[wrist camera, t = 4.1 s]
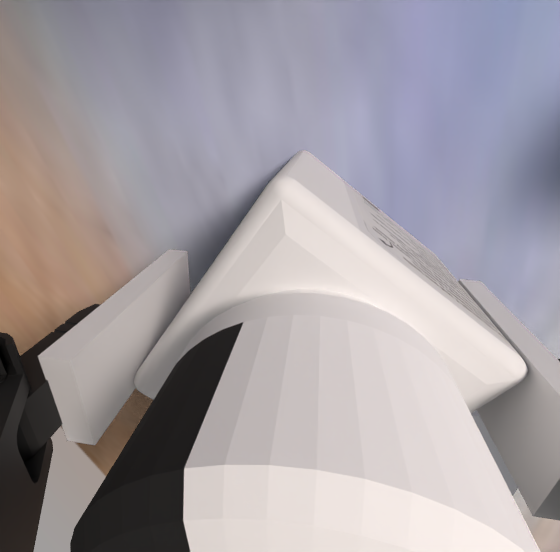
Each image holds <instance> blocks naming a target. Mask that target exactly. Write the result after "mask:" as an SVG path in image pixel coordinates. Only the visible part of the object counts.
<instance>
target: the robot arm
mask: <svg viewBox="0 0 560 552" xmlns="http://www.w3.org/2000/svg"><path fill="white" fill-rule="evenodd" d="M459 284H460V285H461V286H462V287H463V288H464V290H465V291H466V292H467V293H468V294H469V295H470V297H471V298H472V299H473V300H474V301H475V303H476V304H477V305H478V306H479V307H480V309H481V310H482V311H483V312H484V313H485V314H486V316H487V317H488V318H489V319H490V320H491V322H492V323H493V324H494V325H495V326H496V328H497V329H498V330H499V331H500V332H501V333H502V335H503V336H504V337H505V338H506V339H507V341H508V342H509V343H510V344H511V345H512V347H513V348H514V349H515V350H516V351H517V352H518V354H519V355H520V356H521V357H522V359H523V360H524V362H525V363H526V366H527V369H528V372H527V376H526V377H525V378H524V380H523V381H521V382H520V383H519V384H517V385H515V386H514V387H512V388H511V389H509V390H507V391H506V392H504V393H503V394H501V395H499V396H498V397H496V398H495V399H493V400H491V401H490V402H488V403H487V404H485V405H483V406H482V407H480V408H479V409H477V411H478V413H479V415H480V417H481V419H482V421H483V423H484V425H485V427H486V428H487V430H488V432H489V434H490V436H491V438H492V440H493V442H494V444H495V445H496V447H497V449H498V451H499V453H500V455H501V457H502V459H503V460H504V462H505V464H506V466H507V468H508V470H509V472H510V474H511V476H512V477H513V479H514V481H515V483H516V485H517V487H518V489H519V491H520V493H521V494H522V496H523V498H524V500H525V502H526V504H527V506H528V508H529V510H530V511H531V513H532V515H533V516H536V517H542V518H548V519H554V520H560V359H557V358H556V357H555V356H554V355H553V354H552V353H551V352H550V351H549V350H548V349H547V348H546V347H545V346H544V345H543V344H542V343H541V342H540V341H539V340H538V339H537V338H536V337H535V336H534V335H533V334H532V333H531V332H530V331H529V330H528V329H527V328H526V327H525V326H524V325H523V324H522V323H521V322H520V321H519V320H518V319H517V318H516V317H515V316H514V315H513V314H512V313H511V312H510V311H509V310H508V308H507V307H506V306H505V305H504V304H503V303H502V302H501V301H500V300H499V299H498V298H497V297H496V296H495V295H494V294H493V293H492V292H491V291H490V290H489V289H488V288H487V287H486V286H485V285H484V284H483V283H482V282H481V281H473V280H463V279H459ZM190 295H191V293H190V280H189V266H188V253H187V251H181V250H172V249H169V250H168V251H166V252H165V253H164V254H163V255H161V256H160V257H159V258H158V259H157V260H155V261H154V262H153V263H152V264H150V265H149V266H148V267H147V268H145V269H144V270H143V271H142V272H141V273H139V274H138V275H137V276H136V277H134V278H133V279H132V280H131V281H129V282H128V283H127V284H126V285H125V286H123V287H122V288H121V289H120V290H118V291H117V292H116V293H115V294H113V295H112V296H111V297H110V298H109V299H107V300H106V301H105V302H104V303H102V304H101V305H98V304H94V305H92V306H90V307H88V308H86V309H83V310H81V311H79V312H77V313H76V314H75V315H73V316H72V317H71V318H70V319H68V320H67V321H66V322H65V324H62V325H60V326H59V327H58V328H56V329H55V331H54V332H51V333H50V334H49V335H47V336H46V337H45V338H43V339H42V340H41V341H40V342H38V343H37V344H36V345H34V346H33V347H32V348H30V349H29V350H28V351H26V352H25V353H24V354H23V355H21V356H20V355H19V353H18V350H17V348H16V345H15V342H14V340H13V338H12V337H11V336H10V335H9V334H7V333H1V332H0V552H33V550H34V545H35V540H36V535H37V530H38V524H39V520H40V514H41V509H42V504H43V499H44V493H45V488H46V483H47V478H48V473H49V468H50V463H51V457H52V452H53V445H52V440H51V438H50V437H51V436H52V435H53V434H54V432H56V430H57V429H58V428H59V427H60V426H61V425H62V428H63V431H64V434H65V436H66V439H67V441H72V442H78V443H84V444H90V445H96V443H97V442H98V440H99V439H100V438H101V436H102V435H103V433H104V432H105V431H106V429H107V428H108V426H109V425H110V424H111V422H112V421H113V419H114V418H115V416H116V415H117V414H118V412H119V411H120V409H121V408H122V407H123V405H124V404H125V402H126V401H127V400H128V398H129V397H130V395H131V394H132V393H133V391H134V390H135V388H136V387H135V384H134V378H135V375H136V372H137V371H138V369H139V368H140V367H141V365H142V364H143V362H144V361H145V359H146V358H147V356H148V355H149V354H150V352H151V351H152V349H153V348H154V346H155V345H156V344H157V342H158V341H159V339H160V338H161V336H162V335H163V334H164V332H165V331H166V329H167V328H168V326H169V325H170V323H171V322H172V321H173V319H174V318H175V316H176V315H177V313H178V312H179V311H180V309H181V308H182V306H183V305H184V303H185V302H186V301H187V299H188V298H189V296H190Z"/></svg>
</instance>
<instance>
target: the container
mask: <svg viewBox="0 0 560 552" xmlns="http://www.w3.org/2000/svg"><path fill="white" fill-rule="evenodd" d="M527 372H528V369H527V366H526V363H525V362H524V360H523V359H522V357H521V356H520V355H519V354H518V352H517V351H516V350H515V349H514V348H513V347H512V345H511V344H510V343H509V342H508V341H507V339H506V338H505V337H504V336H503V335H502V333H501V332H500V331H499V330H498V329H497V328H496V326H495V325H494V324H493V323H492V322H491V320H490V319H489V318H488V317H487V316H486V314H485V313H484V312H483V311H482V310H481V309H480V307H479V306H478V305H477V304H476V303H475V301H474V300H473V299H472V298H471V297H470V295H469V294H468V293H467V292H466V291H465V290H464V288H463V287H462V286H461V285H460V284H459V282H458V281H457V280H456V279H455V278H454V276H453V275H452V274H451V273H450V272H449V271H448V269H447V268H446V267H445V266H444V265H443V263H442V262H441V261H440V260H439V259H438V257H437V256H436V255H435V254H434V253H433V252H432V251H430V250H429V249H428V248H427V247H425V246H424V245H423V244H422V243H421V242H419V241H418V240H417V239H416V238H414V237H413V236H412V235H411V234H409V233H408V232H407V231H406V230H405V229H403V228H402V227H401V226H400V225H398V224H397V223H396V222H395V221H393V220H392V219H391V218H390V217H388V216H387V215H386V214H385V213H384V212H382V211H381V210H380V209H379V208H377V207H376V206H375V205H374V204H372V203H371V202H370V201H369V200H368V199H366V198H365V197H364V196H363V195H361V194H360V193H359V192H358V191H356V190H355V189H354V188H353V187H352V186H350V185H349V184H348V183H347V182H345V181H344V180H343V179H342V178H340V177H339V176H338V175H337V174H336V173H334V172H333V171H332V170H331V169H329V168H328V167H327V166H326V165H324V164H323V163H322V162H321V161H319V160H318V159H317V158H316V157H315V156H313V155H312V154H311V153H310V152H308V151H305V150H302V151H299V152H297V153H296V154H295V155H294V156H293V157H292V158H291V159H290V160H289V162H288V163H287V164H286V165H285V166H284V167H283V168H282V169H281V170H280V171H279V172H278V173H277V174H276V175H275V177H274V178H273V179H272V180H271V181H270V182H269V183H268V184H267V186H266V187H265V189H264V190H263V191H262V193H261V194H260V196H259V197H258V199H257V200H256V202H255V203H254V204H253V206H252V207H251V209H250V210H249V212H248V213H247V214H246V216H245V217H244V219H243V220H242V222H241V223H240V224H239V226H238V227H237V229H236V230H235V232H234V233H233V235H232V236H231V237H230V239H229V240H228V242H227V243H226V245H225V246H224V247H223V249H222V250H221V252H220V253H219V255H218V256H217V257H216V259H215V260H214V262H213V263H212V265H211V266H210V268H209V269H208V270H207V272H206V273H205V275H204V276H203V278H202V279H201V280H200V282H199V283H198V285H197V286H196V288H195V289H194V290H193V292H192V293H191V295H190V296H189V298H188V299H187V301H186V302H185V303H184V305H183V306H182V308H181V309H180V311H179V312H178V313H177V315H176V316H175V318H174V319H173V321H172V322H171V323H170V325H169V326H168V328H167V329H166V331H165V332H164V334H163V335H162V336H161V338H160V339H159V341H158V342H157V344H156V345H155V346H154V348H153V349H152V351H151V352H150V354H149V355H148V356H147V358H146V359H145V361H144V362H143V364H142V365H141V367H140V368H139V369H138V371H137V372H136V375H135V378H134V384H135V387H136V389H137V390H138V391H139V392H141V393H143V394H144V395H146V396H148V397H149V398H151V399H153V402H152V403H151V405H150V407H149V408H148V410H147V411H146V413H145V415H144V416H143V418H142V419H141V421H140V423H139V424H138V426H137V428H136V429H135V431H134V432H133V434H132V436H131V437H130V439H129V441H128V442H127V444H126V445H125V447H124V449H123V450H122V452H121V454H120V455H119V457H118V458H117V460H116V462H115V463H114V465H113V466H112V468H111V470H110V471H109V473H108V475H107V476H106V478H105V480H104V481H103V483H102V484H101V486H100V488H99V489H98V491H97V492H96V494H95V496H94V497H93V499H92V501H91V502H90V504H89V505H88V507H87V509H86V510H85V512H84V513H83V515H82V517H81V518H80V520H79V522H78V523H77V525H76V527H75V529H74V532H73V536H72V540H71V552H540V550H539V548H538V546H537V544H536V542H535V540H534V538H533V536H532V534H531V532H530V530H529V528H528V526H527V524H526V522H525V520H524V518H523V516H522V514H521V512H520V510H519V508H518V506H517V504H516V502H515V500H514V498H513V496H512V494H511V492H510V490H509V488H508V486H507V484H506V482H505V480H504V478H503V476H502V474H501V472H500V470H499V468H498V466H497V464H496V462H495V461H494V459H493V457H492V455H491V453H490V451H489V449H488V447H487V445H486V443H485V441H484V439H483V437H482V435H481V433H480V431H479V429H478V427H477V425H476V423H475V421H474V419H473V417H472V415H471V413H472V412H474V411H475V410H477V409H479V408H480V407H482V406H483V405H485V404H487V403H488V402H490V401H491V400H493V399H495V398H496V397H498V396H499V395H501V394H503V393H504V392H506V391H507V390H509V389H511V388H512V387H514V386H515V385H517V384H519V383H520V382H521V381H523V380H524V378H525V377H526V376H527Z"/></svg>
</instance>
